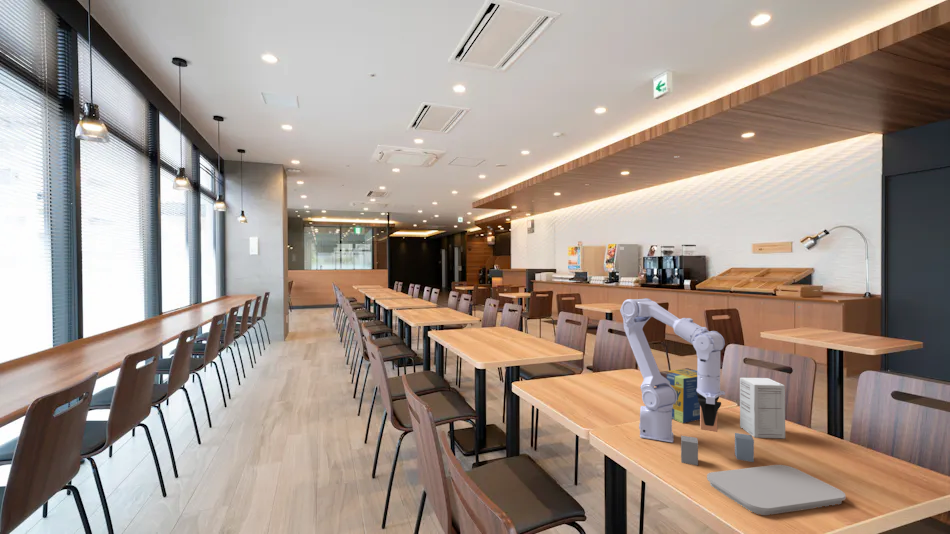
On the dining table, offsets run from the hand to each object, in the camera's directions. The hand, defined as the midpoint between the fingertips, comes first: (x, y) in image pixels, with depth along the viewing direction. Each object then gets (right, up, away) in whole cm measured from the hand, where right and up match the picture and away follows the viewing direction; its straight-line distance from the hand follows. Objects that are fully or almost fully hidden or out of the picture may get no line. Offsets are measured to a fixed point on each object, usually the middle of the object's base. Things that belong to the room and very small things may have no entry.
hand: (708, 422), depth 120 cm
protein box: (+10, -10, +33) cm, 36 cm away
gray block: (-7, -9, -3) cm, 12 cm away
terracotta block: (0, -2, 0) cm, 2 cm away
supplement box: (+27, -10, +17) cm, 33 cm away
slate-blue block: (+9, -10, -1) cm, 13 cm away
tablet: (+5, -10, -19) cm, 22 cm away
